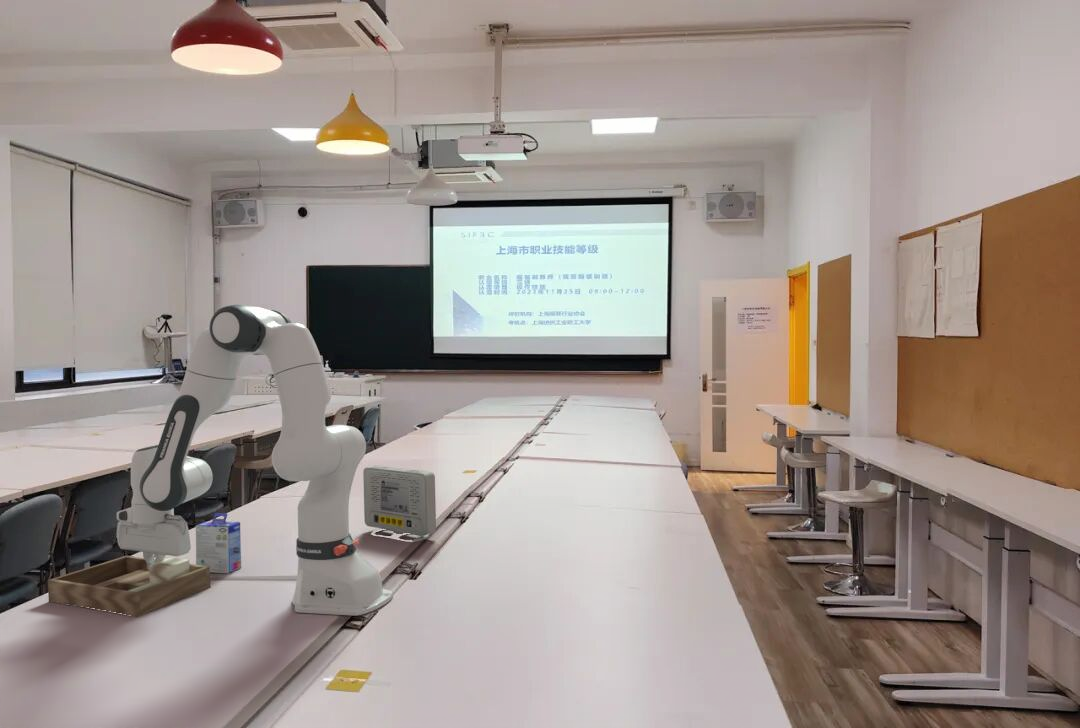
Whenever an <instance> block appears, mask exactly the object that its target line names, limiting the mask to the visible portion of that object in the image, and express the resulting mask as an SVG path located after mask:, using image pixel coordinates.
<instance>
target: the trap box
mask: <svg viewBox="0 0 1080 728" xmlns="http://www.w3.org/2000/svg"><path fill="white" fill-rule="evenodd" d="M189 567H190V573H187V574H184V575H182V576H179V577H176V578H173V579H171V580H168V581H165V582H163V583H155V582H150V577H149V570H148V569H147V563H146V561H145V559H144V557H139V556H133V555H132V556H131V555H124V556H121V557H117V558H115V559H111V560H108V561H104V562H103V563H99V564H95V565H92V566H89V567H88V566H87V567H86V568H82V569H79V570H75V571H73V572H69V573H67V574H64V575H61V576H57V577H55V578H54V577H53V578H50V579H48V580H47V593H48V596H47V597H48V602H49V603H53V602H56V603H55V604H59V603H63V604H62V605H64V604H69V605H68V606H70V605H76V606H83V607H89V608H95V609H100V610H106V611H111V612H116V613H122V614H126V615H125V616H127V615H131V616H130V617H132V616H136V617H135V618H138V617H140V615H141V616H143V615H145V613H146V614H148V613H151V612H153V611H155V610H159V609H160V608H163V607H165V606H167V605H170V604H172V603H175V602H177V601H180V600H182V599H186V598H188V597H190V596H192V595H194V594H197V593H200V592H202V591H204V590H207V589H209V588H211V572H210V567H209V566H201V565H196V564H194V563H189ZM50 601H51V602H50ZM76 606H75V607H76ZM150 611H151V612H150ZM137 616H138V617H137Z"/></svg>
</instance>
